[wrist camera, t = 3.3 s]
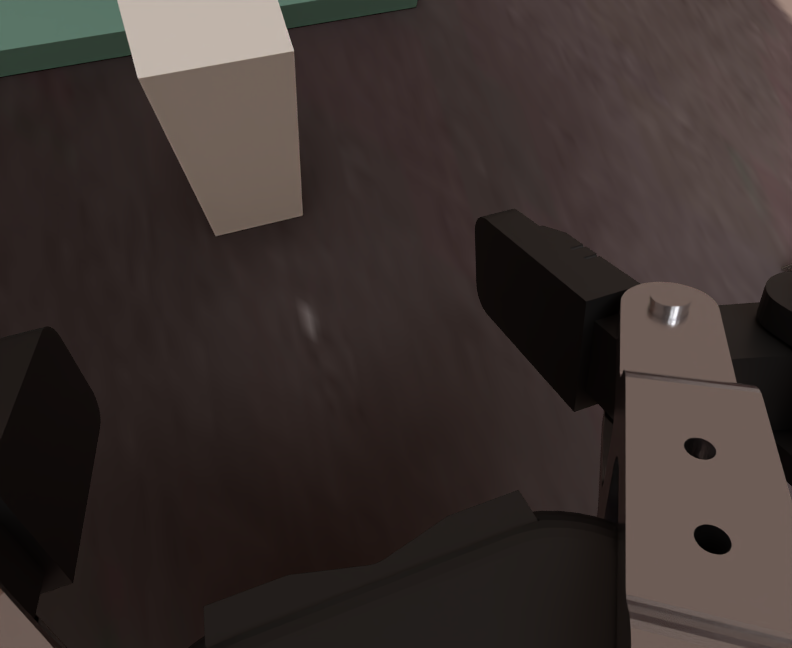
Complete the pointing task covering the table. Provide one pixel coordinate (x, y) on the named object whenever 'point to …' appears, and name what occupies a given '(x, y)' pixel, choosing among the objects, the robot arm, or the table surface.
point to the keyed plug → (223, 102)
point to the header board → (122, 28)
